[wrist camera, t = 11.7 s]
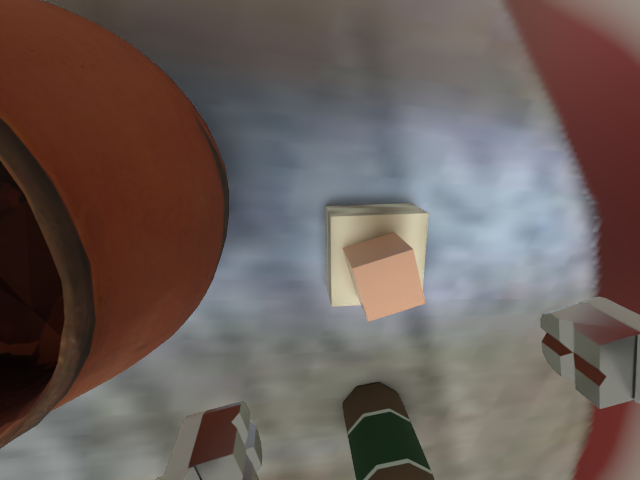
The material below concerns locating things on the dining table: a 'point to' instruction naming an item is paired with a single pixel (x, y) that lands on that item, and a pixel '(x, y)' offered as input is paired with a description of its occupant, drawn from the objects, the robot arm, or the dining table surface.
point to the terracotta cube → (384, 275)
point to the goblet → (94, 209)
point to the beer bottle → (383, 436)
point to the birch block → (363, 225)
